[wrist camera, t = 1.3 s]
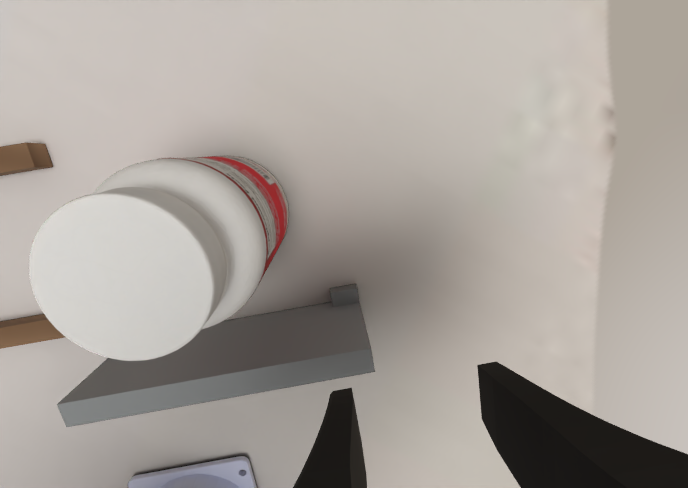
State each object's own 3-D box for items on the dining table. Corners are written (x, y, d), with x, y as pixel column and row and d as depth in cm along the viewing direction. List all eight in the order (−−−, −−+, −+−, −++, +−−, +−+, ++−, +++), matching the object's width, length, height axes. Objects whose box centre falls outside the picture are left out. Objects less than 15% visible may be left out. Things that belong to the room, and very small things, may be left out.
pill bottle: (198, 271, 20) (52, 403, 10) (165, 167, 19) (-53, 189, 8) (301, 252, 20) (267, 363, 10) (276, 145, 19) (202, 138, 8)
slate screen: (363, 328, 22) (377, 388, 16) (141, 367, 22) (73, 443, 16) (355, 283, 21) (368, 330, 15) (126, 323, 21) (49, 386, 15)
